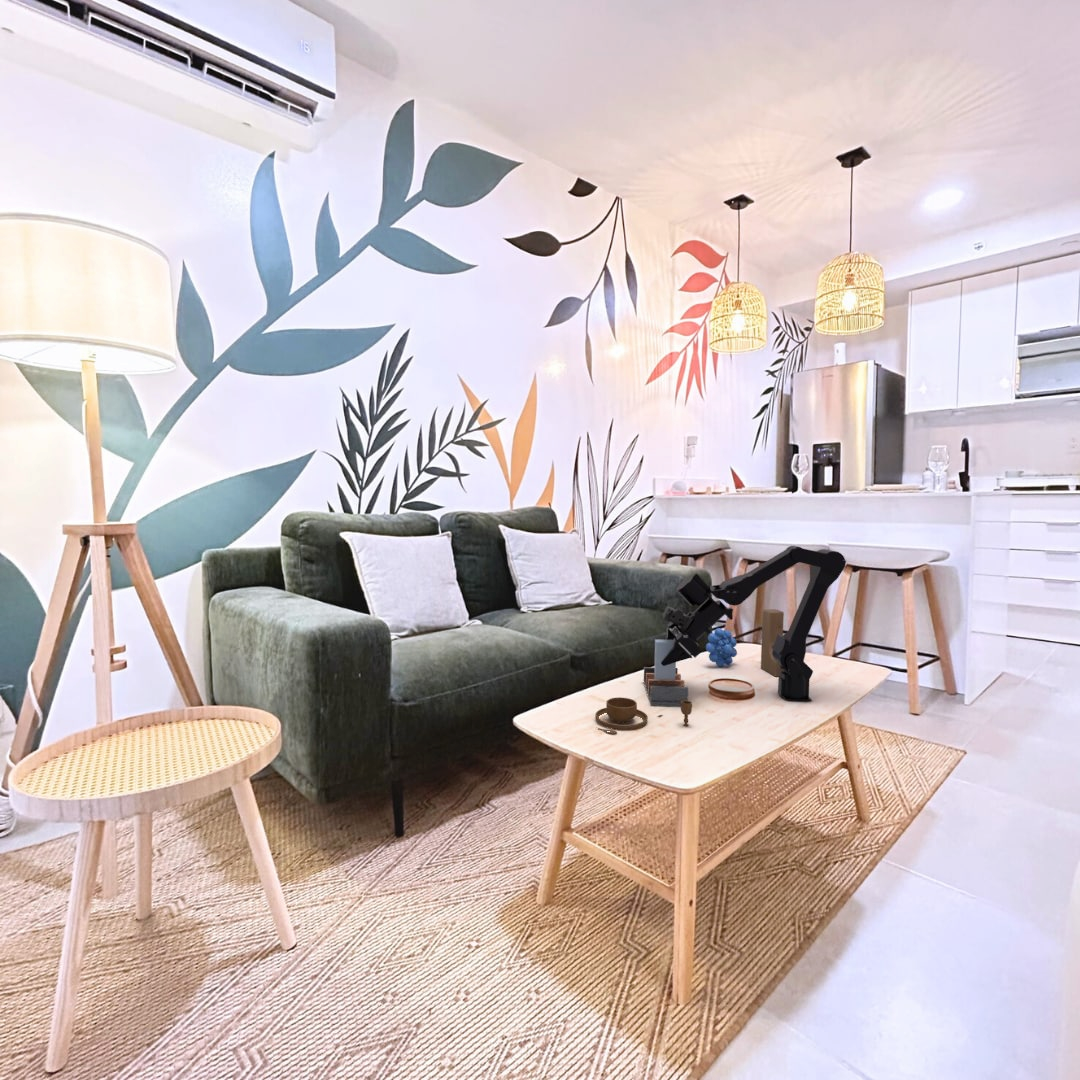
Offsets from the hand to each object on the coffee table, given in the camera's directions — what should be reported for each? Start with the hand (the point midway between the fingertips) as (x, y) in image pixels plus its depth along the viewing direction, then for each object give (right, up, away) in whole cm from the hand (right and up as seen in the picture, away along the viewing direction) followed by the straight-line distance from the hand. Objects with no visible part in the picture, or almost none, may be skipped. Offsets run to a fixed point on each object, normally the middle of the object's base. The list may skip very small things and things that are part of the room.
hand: (659, 659), depth 157 cm
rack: (+1, -9, +1) cm, 9 cm away
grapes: (+24, -8, +25) cm, 36 cm away
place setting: (-9, -11, -21) cm, 25 cm away
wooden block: (+38, -8, +20) cm, 43 cm away
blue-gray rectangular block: (+1, -8, +1) cm, 8 cm away
